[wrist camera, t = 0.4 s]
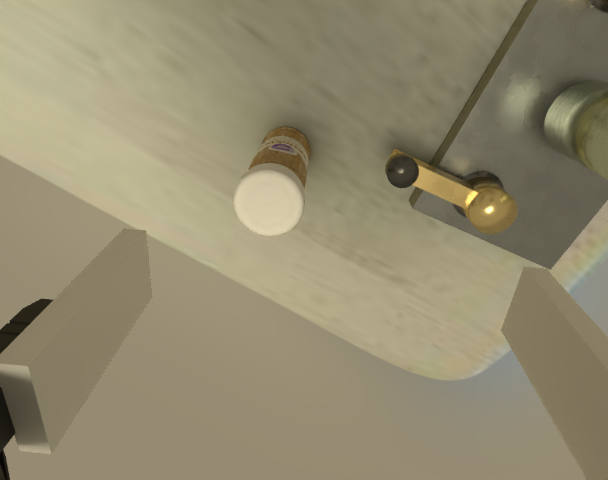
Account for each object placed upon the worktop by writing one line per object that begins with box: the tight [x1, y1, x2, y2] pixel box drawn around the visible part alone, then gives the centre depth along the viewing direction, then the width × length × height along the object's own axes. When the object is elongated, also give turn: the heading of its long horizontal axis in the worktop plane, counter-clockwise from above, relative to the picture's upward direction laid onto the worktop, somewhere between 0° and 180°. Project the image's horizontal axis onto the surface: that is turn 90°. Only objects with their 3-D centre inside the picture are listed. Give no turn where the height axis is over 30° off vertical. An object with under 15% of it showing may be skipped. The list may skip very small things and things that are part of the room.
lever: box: [385, 149, 518, 234], centre depth 36 cm, size 4×11×4 cm, turn 66°
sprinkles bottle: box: [234, 127, 310, 236], centre depth 33 cm, size 5×5×13 cm
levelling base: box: [409, 0, 608, 269], centre depth 32 cm, size 25×15×11 cm, turn 156°
